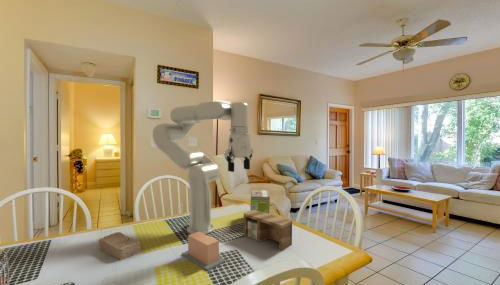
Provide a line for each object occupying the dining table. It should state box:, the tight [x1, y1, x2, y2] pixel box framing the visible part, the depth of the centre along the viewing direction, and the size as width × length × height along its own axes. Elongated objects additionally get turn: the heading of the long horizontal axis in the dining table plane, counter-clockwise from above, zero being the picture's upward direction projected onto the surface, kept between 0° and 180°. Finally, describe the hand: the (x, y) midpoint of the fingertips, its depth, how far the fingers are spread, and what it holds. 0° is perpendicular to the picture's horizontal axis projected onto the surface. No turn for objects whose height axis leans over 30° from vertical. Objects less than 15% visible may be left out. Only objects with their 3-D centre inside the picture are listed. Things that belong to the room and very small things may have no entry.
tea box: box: [250, 189, 271, 214], centre depth 128 cm, size 15×10×15 cm
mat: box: [181, 250, 226, 272], centre depth 88 cm, size 16×8×1 cm, turn 48°
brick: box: [98, 231, 142, 261], centre depth 94 cm, size 17×8×5 cm, turn 57°
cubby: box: [243, 210, 293, 252], centre depth 104 cm, size 21×7×10 cm, turn 48°
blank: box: [187, 232, 220, 265], centre depth 88 cm, size 5×12×7 cm, turn 48°
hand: (239, 170), depth 104 cm, fingers open, 9 cm apart
